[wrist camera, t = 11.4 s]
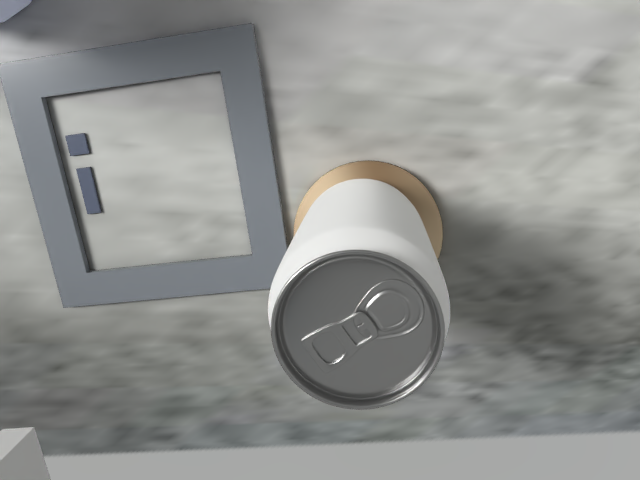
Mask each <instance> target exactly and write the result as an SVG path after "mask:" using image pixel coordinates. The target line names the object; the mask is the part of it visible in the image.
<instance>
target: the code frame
mask: <svg viewBox="0 0 640 480" xmlns="http://www.w3.org/2000/svg"><path fill="white" fill-rule="evenodd" d="M219 71H220V72H221V77H222V83H223V89H224V95H225V101H226V106H227V112H228V118H229V124H230V129H231V135H232V141H233V147H234V152H235V158H236V164H237V170H238V176H239V181H240V187H241V193H242V199H243V204H244V210H245V216H246V222H247V227H248V233H249V239H250V245H251V250H252V254H250V255H240V256H230V257H220V258H211V259H201V260H191V261H182V262H172V263H162V264H152V265H143V266H133V267H123V268H113V269H104V270H94V271H90V269H89V265H88V261H87V257H86V254H85V250H84V246H83V242H82V238H81V234H80V230H79V226H78V222H77V219H76V215H75V211H74V207H73V203H72V199H71V195H70V191H69V187H68V183H67V180H66V176H65V172H64V168H63V164H62V160H61V156H60V152H59V148H58V144H57V141H56V137H55V133H54V129H53V125H52V121H51V117H50V113H49V109H48V106H47V102H46V98H45V97H51V96H58V95H65V94H71V93H78V92H85V91H92V90H98V89H105V88H112V87H118V86H125V85H132V84H139V83H145V82H152V81H159V80H165V79H172V78H179V77H185V76H192V75H199V74H206V73H212V72H219ZM0 79H1V82H2V86H3V90H4V93H5V97H6V101H7V104H8V108H9V111H10V115H11V119H12V122H13V126H14V130H15V133H16V137H17V141H18V144H19V148H20V151H21V155H22V159H23V162H24V166H25V170H26V173H27V177H28V181H29V184H30V188H31V191H32V195H33V199H34V202H35V206H36V210H37V213H38V217H39V220H40V224H41V228H42V231H43V235H44V239H45V242H46V246H47V250H48V253H49V257H50V260H51V264H52V268H53V271H54V275H55V279H56V282H57V286H58V290H59V293H60V297H61V300H62V304H63V308H66V307H77V306H88V305H98V304H109V303H120V302H130V301H141V300H152V299H162V298H173V297H184V296H194V295H205V294H216V293H226V292H237V291H248V290H258V289H269V288H271V285H272V282H273V279H274V276H275V274H276V271H277V269H278V267H279V265H280V263H281V261H282V259H283V257H284V255H285V253H286V251H287V249H288V244H287V237H286V231H285V225H284V218H283V212H282V205H281V199H280V192H279V186H278V179H277V173H276V166H275V160H274V154H273V147H272V141H271V134H270V128H269V121H268V115H267V108H266V102H265V95H264V89H263V83H262V76H261V70H260V63H259V57H258V50H257V44H256V37H255V31H254V24H252V23H250V24H244V25H237V26H231V27H225V28H219V29H212V30H206V31H200V32H194V33H187V34H181V35H175V36H169V37H162V38H156V39H150V40H144V41H137V42H131V43H125V44H118V45H112V46H106V47H100V48H93V49H87V50H81V51H75V52H68V53H62V54H56V55H50V56H43V57H37V58H31V59H25V60H18V61H12V62H6V63H0ZM65 137H66V141H67V145H68V149H69V153H70V156H73V155H80V154H88V153H90V152H89V148H88V143H87V139H86V135H85V133H82V134H75V135H68V136H65ZM76 170H77V174H78V178H79V182H80V186H81V190H82V194H83V198H84V202H85V206H86V210H87V214H92V213H101V208H100V203H99V199H98V195H97V191H96V187H95V183H94V179H93V175H92V171H91V167H86V168H78V169H76Z"/></svg>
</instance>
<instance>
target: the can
mask: <svg viewBox="0 0 640 480" xmlns="http://www.w3.org/2000/svg"><path fill="white" fill-rule="evenodd" d="M268 318H269V325H270V329H271V337H272V343H273V347H274V351H275V353H276V356H277V358H278V361H279V363H280V364H281V366H282V368H283V369H284V371H285V372H286V374H287V375H288V376H289V377H290V379H291V380H292V381H293V382H294V383H295V384H296V385H297V386H298V387H299V388H301V389H302V390H303V391H304V392H306V393H307V394H309V395H310V396H312V397H314V398H316V399H318V400H320V401H322V402H324V403H327V404H330V405H333V406H336V407H341V408H346V409H358V410H362V409H374V408H379V407H384V406H387V405H390V404H393V403H395V402H398V401H400V400H402V399H404V398H406V397H407V396H409V395H410V394H412V393H413V392H415V391H416V390H417V389H418V388H419V387H421V386H422V385H423V384H424V383H425V381H426V380H427V379H428V378H429V377H430V375H431V374H432V372H433V371H434V369H435V368H436V366H437V364H438V362H439V359H440V357H441V354H442V350H443V346H444V342H445V339H446V336H447V333H448V329H449V324H450V300H449V294H448V290H447V286H446V283H445V279H444V276H443V274H442V271H441V268H440V265H439V263H438V260H437V258H436V255H435V252H434V250H433V247H432V245H431V242H430V239H429V237H428V234H427V232H426V229H425V227H424V224H423V222H422V220H421V217H420V215H419V213H418V212H417V210H416V208H415V207H414V205H413V204H412V203H411V202H410V201H409V200H408V199H407V197H406V196H404V195H403V194H402V193H401V192H400V191H399V190H397V189H396V188H394V187H393V186H391V185H389V184H387V183H384V182H381V181H378V180H373V179H352V180H347V181H344V182H341V183H338V184H336V185H334V186H332V187H330V188H329V189H327V190H326V191H325V192H323V193H322V194H321V195H320V196H319V197H318V198H317V199H316V200H315V201H314V203H313V204H312V205H311V207H310V208H309V210H308V212H307V213H306V215H305V217H304V219H303V221H302V223H301V224H300V226H299V228H298V230H297V232H296V234H295V236H294V238H293V240H292V241H291V243H290V245H289V247H288V249H287V251H286V253H285V255H284V257H283V259H282V261H281V263H280V265H279V267H278V269H277V271H276V274H275V276H274V279H273V282H272V285H271V289H270V294H269V300H268Z"/></svg>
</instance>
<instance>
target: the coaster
mask: <svg viewBox="0 0 640 480" xmlns="http://www.w3.org/2000/svg"><path fill="white" fill-rule="evenodd" d="M352 179H373V180H378V181H381V182H384V183H387V184H389V185H391V186H393V187H394V188H396V189H397V190H399V191H400V192H401V193H402V194H403V195H404V196H406V197H407V199H408V200H409V201H410V202H411V203H412V204H413V205H414V207H415V208H416V210H417V212H418V213H419V215H420V217H421V220H422V222H423V224H424V227H425V229H426V232H427V234H428V237H429V239H430V242H431V245H432V247H433V250H434V252H435V255H436V258H437V260H438V258H439V255H440V251H441V248H442V240H443V227H442V221H441V216H440V213H439V210H438V207H437V205H436V203H435V201H434V199H433V197H432V196H431V194H430V193H429V191H428V190H427V189H426V187H425V186H424V185H423V184H422V183H421V182H420V181H419V180H418V179H417V178H416V177H415V176H413V175H412V174H410V173H409V172H407V171H406V170H404V169H402V168H400V167H398V166H395V165H392V164H389V163H385V162H380V161H357V162H352V163H348V164H345V165H342V166H339V167H337V168H335V169H333V170H331V171H329V172H328V173H326V174H325V175H323V176H322V177H321V178H320V179H319V180H317V181H316V182H315V183H314V185H313V186H312V187H311V188H310V189H309V191H308V192H307V194H306V195H305V197H304V198H303V200H302V202H301V204H300V206H299V208H298V211H297V214H296V218H295V224H294V236H295V234H296V232H297V230H298V228H299V226H300V224H301V223H302V221H303V219H304V217H305V215H306V213H307V212H308V210H309V208H310V207H311V205H312V204H313V203H314V201H315V200H316V199H317V198H318V197H319V196H320V195H321V194H322V193H323V192H325V191H326V190H327V189H329V188H330V187H332V186H334V185H336V184H338V183H341V182H344V181H347V180H352Z"/></svg>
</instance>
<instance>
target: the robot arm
mask: <svg viewBox="0 0 640 480" xmlns="http://www.w3.org/2000/svg"><path fill="white" fill-rule="evenodd" d="M0 480H51V479H50V476H49V473H48V470H47V467H46V463H45V460H44V457H43V454H42V450H41V447H40V444H39V441H38V438H37V434H36V431H35V428H34V427H27V428H13V429H3V430H1V431H0Z"/></svg>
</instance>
